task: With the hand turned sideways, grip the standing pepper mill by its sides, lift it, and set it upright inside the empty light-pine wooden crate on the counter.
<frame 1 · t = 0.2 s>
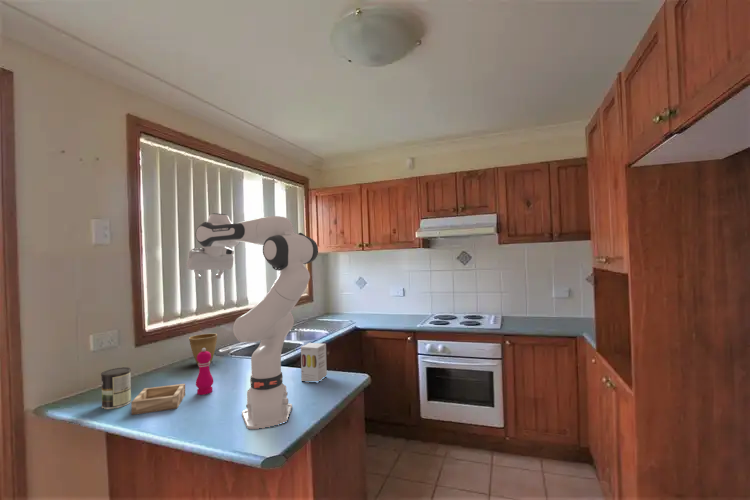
hand: (208, 278, 164), 51 cm above the countertop, tool tilted 15°, fingers open, 8 cm apart
pepper mill: (204, 392, 166), on the countertop
plant pot: (204, 363, 213), on the countertop
coffee can: (116, 404, 155), on the countertop
crate: (160, 404, 153), on the countertop
supplement box: (314, 380, 178), on the countertop
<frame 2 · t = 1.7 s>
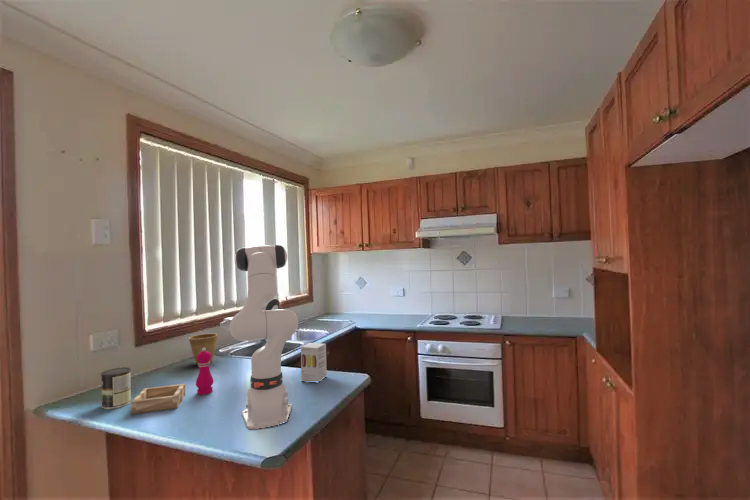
hand: (226, 325, 176), 28 cm above the countertop, tool horizontal, fingers open, 8 cm apart
nothing on the countertop moved.
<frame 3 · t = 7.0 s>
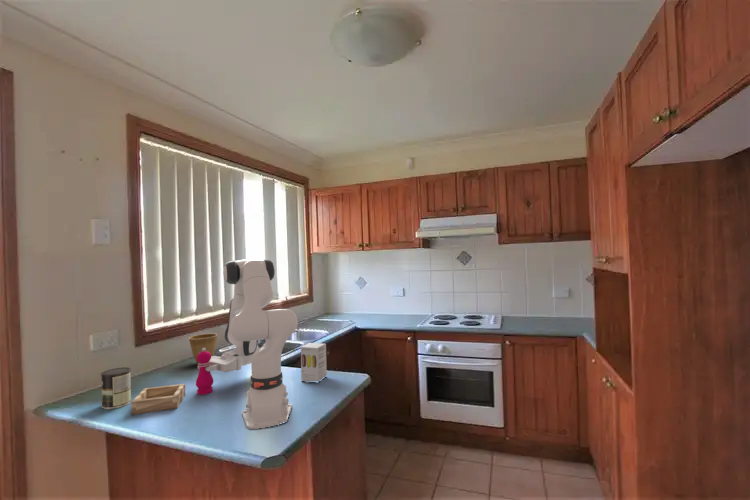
hand: (202, 368, 165), 11 cm above the countertop, tool horizontal, fingers closed on pepper mill, 5 cm apart
pepper mill: (204, 392, 166), on the countertop, touching gripper
everything else where it was.
when the fingers open (13 cm above the countertop, at t = 12.8 s): pepper mill drops 1 cm, resting on crate.
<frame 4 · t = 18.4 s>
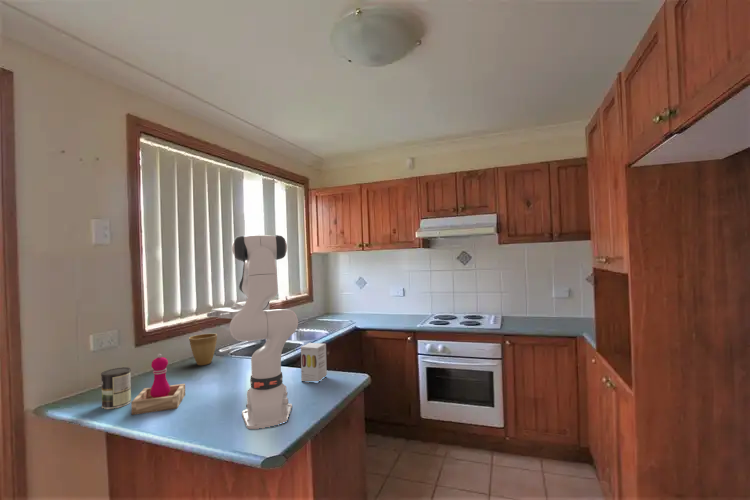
hand: (213, 315, 169), 34 cm above the countertop, tool horizontal, fingers open, 8 cm apart
pepper mill: (160, 402, 153), point 1 cm above the countertop, touching crate
everything else where it was.
at the end: pepper mill inside the target area on the crate (0.1 cm from its centre), point 0.8 cm above the crate's base; pepper mill tilted 0°; the gripper is holding nothing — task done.
